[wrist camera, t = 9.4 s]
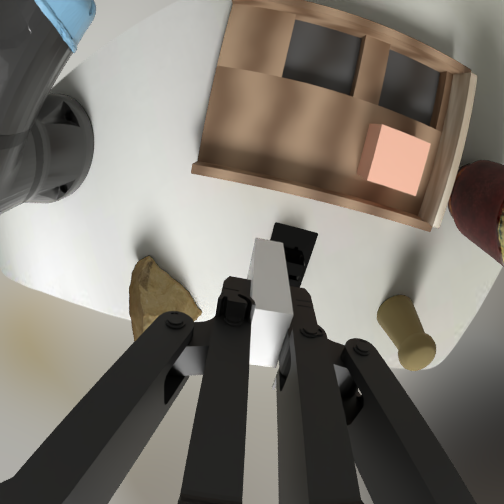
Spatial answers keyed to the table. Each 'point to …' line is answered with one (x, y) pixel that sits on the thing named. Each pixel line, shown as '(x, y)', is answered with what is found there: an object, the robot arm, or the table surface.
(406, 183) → the block
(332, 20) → the box
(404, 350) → the cork
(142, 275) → the rock
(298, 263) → the black piece
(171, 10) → the table surface
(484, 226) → the vase
